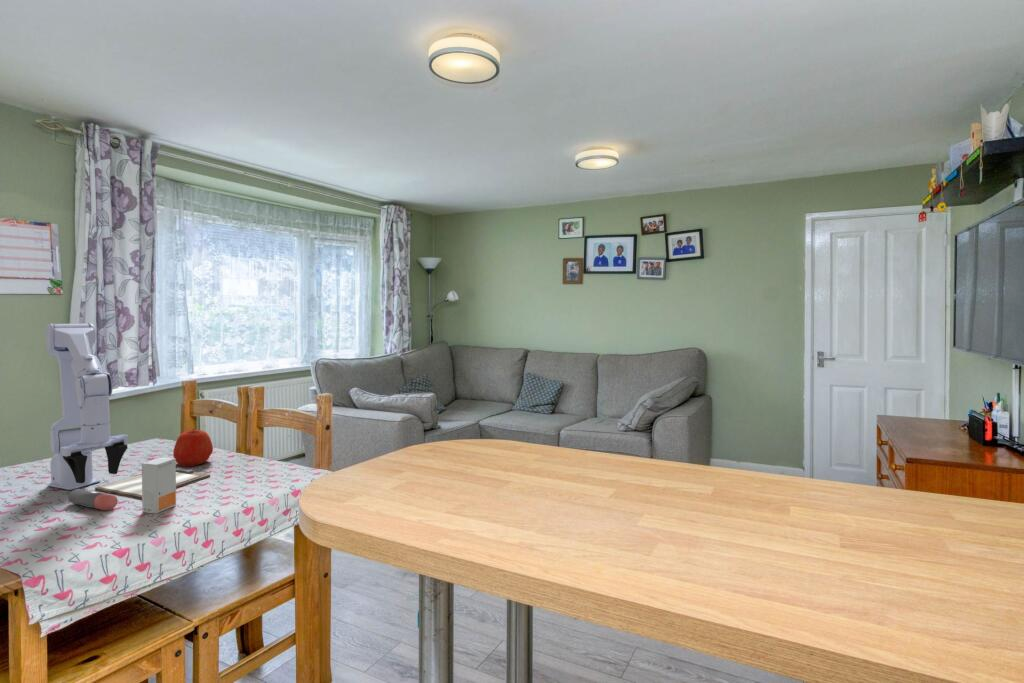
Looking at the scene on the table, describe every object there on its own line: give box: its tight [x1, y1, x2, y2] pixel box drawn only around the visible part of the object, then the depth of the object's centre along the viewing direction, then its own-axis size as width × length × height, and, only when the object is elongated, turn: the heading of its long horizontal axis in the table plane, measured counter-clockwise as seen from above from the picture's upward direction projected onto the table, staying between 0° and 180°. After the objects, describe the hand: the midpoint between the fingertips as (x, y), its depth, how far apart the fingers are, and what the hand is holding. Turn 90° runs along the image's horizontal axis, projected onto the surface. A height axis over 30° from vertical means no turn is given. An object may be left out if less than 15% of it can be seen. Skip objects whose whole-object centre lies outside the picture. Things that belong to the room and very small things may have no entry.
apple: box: [172, 429, 214, 467], centre depth 171 cm, size 11×11×11 cm
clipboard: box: [94, 467, 211, 500], centre depth 152 cm, size 18×20×1 cm
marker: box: [68, 488, 118, 512], centre depth 134 cm, size 13×4×4 cm
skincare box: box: [141, 457, 177, 515], centre depth 133 cm, size 6×4×12 cm
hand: (97, 477), depth 135 cm, fingers open, 7 cm apart
